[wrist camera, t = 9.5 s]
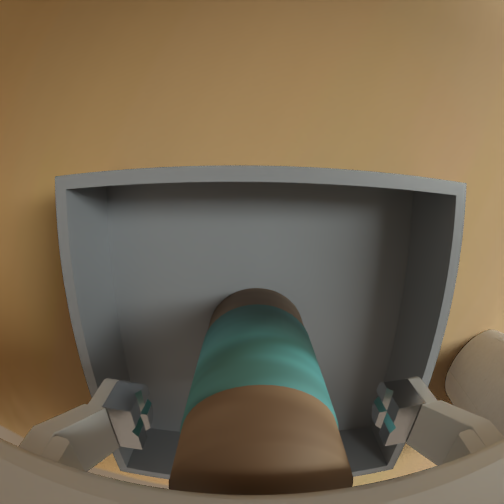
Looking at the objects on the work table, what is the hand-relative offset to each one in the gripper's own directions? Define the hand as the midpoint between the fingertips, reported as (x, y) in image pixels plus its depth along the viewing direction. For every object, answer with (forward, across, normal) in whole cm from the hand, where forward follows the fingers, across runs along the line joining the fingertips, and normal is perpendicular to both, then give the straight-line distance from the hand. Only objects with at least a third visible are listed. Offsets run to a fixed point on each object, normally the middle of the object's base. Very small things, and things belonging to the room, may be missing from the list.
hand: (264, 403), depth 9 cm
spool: (+5, 0, 0) cm, 5 cm away
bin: (+6, 0, 0) cm, 6 cm away
